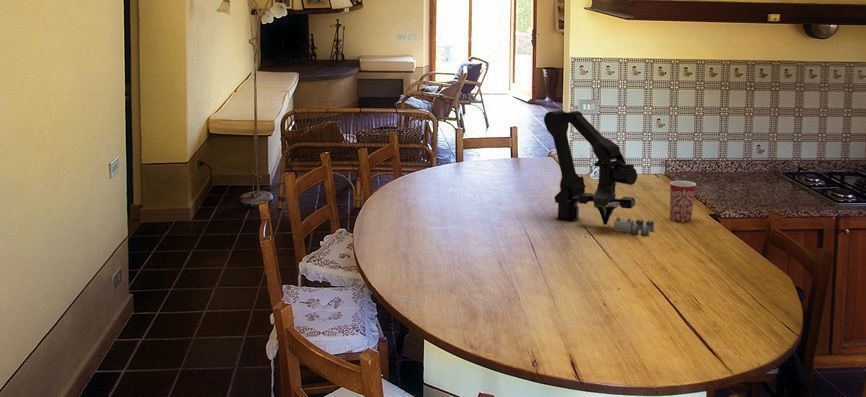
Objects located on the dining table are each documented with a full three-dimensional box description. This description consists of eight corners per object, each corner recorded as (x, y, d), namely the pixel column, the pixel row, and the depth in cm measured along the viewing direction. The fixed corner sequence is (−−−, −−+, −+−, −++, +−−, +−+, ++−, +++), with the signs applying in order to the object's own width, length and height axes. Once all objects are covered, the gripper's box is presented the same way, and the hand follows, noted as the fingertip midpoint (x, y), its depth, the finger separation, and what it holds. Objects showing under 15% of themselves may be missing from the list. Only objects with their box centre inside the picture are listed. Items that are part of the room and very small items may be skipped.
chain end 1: (629, 234, 296) (630, 224, 295) (636, 227, 304) (637, 218, 303) (637, 235, 295) (637, 225, 294) (643, 228, 303) (644, 219, 302)
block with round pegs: (613, 230, 301) (613, 218, 300) (616, 228, 304) (616, 216, 303) (630, 232, 299) (631, 220, 298) (633, 230, 302) (633, 218, 301)
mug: (696, 223, 310) (698, 186, 306) (670, 223, 310) (672, 185, 307) (688, 214, 322) (691, 178, 319) (663, 214, 322) (665, 178, 319)
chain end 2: (640, 235, 294) (640, 225, 294) (646, 229, 302) (647, 219, 301) (647, 236, 293) (648, 226, 292) (654, 230, 301) (654, 220, 300)
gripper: (573, 182, 298) (571, 227, 301) (627, 187, 289) (625, 233, 293) (583, 176, 307) (582, 219, 311) (636, 181, 299) (634, 225, 302)
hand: (605, 224), depth 304 cm, fingers closed
